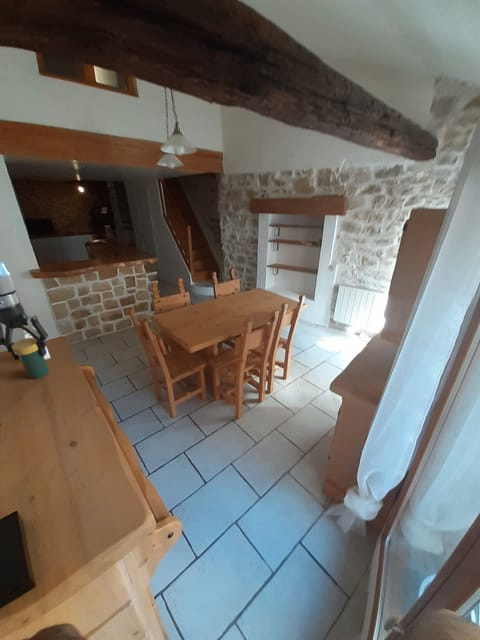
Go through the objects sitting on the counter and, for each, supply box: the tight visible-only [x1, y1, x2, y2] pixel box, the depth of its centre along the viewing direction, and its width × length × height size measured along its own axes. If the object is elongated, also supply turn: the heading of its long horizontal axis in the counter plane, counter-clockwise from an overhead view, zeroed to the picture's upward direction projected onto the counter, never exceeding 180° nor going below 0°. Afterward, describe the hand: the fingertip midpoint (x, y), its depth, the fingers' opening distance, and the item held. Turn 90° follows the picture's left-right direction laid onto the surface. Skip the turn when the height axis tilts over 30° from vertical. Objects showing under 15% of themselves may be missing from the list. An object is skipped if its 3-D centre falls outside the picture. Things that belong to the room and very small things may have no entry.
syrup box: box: [22, 326, 51, 361], centre depth 111 cm, size 6×6×14 cm
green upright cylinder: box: [18, 349, 50, 380], centre depth 102 cm, size 7×7×14 cm
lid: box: [11, 338, 39, 355], centre depth 99 cm, size 9×8×3 cm
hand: (31, 356), depth 101 cm, fingers closed on lid, 8 cm apart
